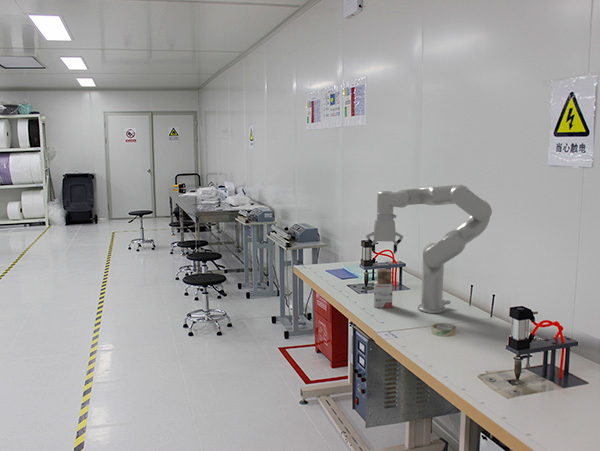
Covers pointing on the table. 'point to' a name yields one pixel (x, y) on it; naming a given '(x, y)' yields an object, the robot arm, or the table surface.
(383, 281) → the walnut block
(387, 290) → the ink box
